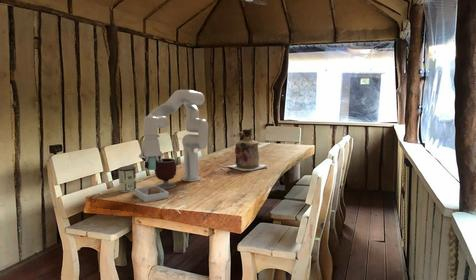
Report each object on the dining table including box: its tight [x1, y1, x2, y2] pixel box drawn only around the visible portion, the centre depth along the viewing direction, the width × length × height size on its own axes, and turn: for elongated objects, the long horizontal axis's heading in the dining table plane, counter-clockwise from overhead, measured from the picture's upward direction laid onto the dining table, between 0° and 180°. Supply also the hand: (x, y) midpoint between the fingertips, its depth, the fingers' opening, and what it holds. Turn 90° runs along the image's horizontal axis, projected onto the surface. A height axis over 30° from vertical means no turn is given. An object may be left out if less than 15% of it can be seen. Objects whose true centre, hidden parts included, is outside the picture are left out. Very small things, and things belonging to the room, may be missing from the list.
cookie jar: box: [226, 128, 269, 172], centre depth 293 cm, size 25×25×32 cm
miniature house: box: [117, 165, 137, 193], centre depth 229 cm, size 10×10×14 cm
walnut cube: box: [148, 187, 160, 195], centre depth 212 cm, size 5×5×5 cm
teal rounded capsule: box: [146, 157, 156, 171], centre depth 218 cm, size 5×5×7 cm
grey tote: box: [134, 185, 170, 203], centre depth 216 cm, size 18×14×4 cm
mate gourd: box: [154, 157, 177, 190], centre depth 238 cm, size 16×14×20 cm
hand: (151, 167), depth 218 cm, fingers closed on teal rounded capsule, 5 cm apart
